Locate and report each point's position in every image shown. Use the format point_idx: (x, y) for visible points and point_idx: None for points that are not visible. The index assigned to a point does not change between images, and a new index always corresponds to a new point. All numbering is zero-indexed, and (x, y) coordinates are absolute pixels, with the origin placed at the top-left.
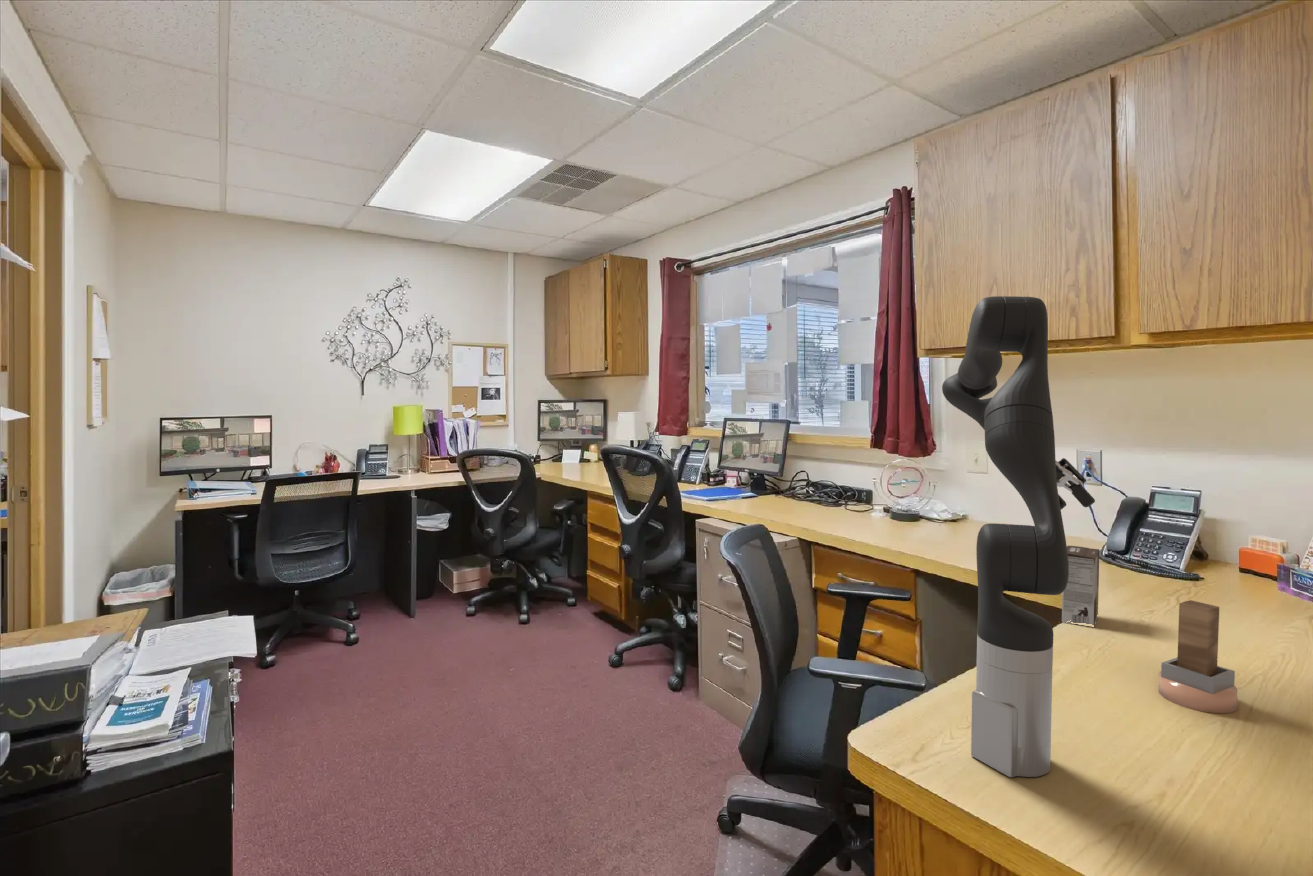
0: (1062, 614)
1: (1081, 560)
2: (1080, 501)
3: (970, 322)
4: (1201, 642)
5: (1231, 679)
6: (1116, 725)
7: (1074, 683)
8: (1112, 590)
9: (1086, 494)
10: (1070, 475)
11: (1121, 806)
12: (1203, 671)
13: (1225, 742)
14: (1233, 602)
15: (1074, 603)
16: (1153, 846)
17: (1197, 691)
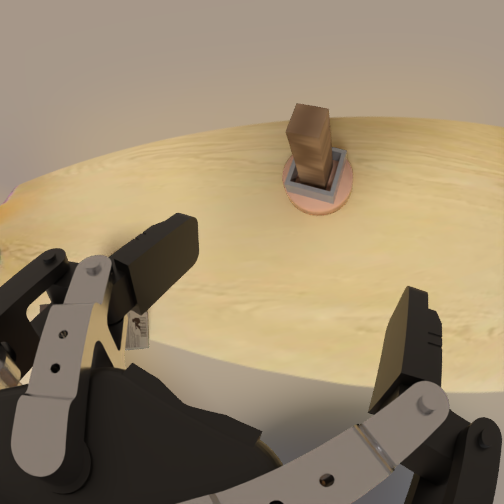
0: (142, 347)
1: None
2: (177, 274)
3: None
4: (329, 142)
5: None
6: (449, 231)
7: (373, 291)
8: (32, 308)
9: (169, 238)
10: (92, 311)
11: None
12: (331, 159)
13: (406, 156)
14: (30, 217)
15: (130, 334)
16: None
17: (350, 170)
